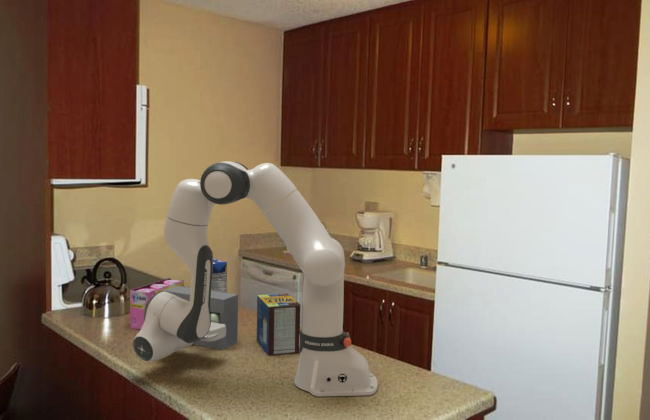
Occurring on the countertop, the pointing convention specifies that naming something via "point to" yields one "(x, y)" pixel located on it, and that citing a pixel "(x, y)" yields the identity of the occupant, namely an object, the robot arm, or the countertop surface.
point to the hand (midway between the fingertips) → (208, 321)
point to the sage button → (215, 317)
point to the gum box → (147, 299)
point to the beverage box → (219, 276)
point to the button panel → (218, 304)
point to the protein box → (278, 324)
